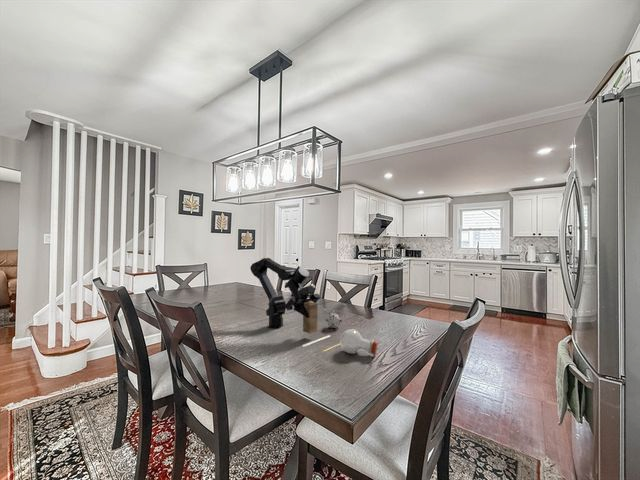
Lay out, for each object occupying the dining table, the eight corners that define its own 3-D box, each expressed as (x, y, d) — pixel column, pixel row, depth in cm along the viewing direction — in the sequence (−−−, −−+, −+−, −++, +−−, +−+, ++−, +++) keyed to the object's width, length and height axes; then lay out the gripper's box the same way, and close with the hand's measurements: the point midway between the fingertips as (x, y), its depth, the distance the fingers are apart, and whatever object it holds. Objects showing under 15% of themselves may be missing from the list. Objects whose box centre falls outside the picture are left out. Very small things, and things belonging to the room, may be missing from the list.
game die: (335, 334, 143) (346, 318, 145) (335, 333, 135) (346, 316, 137) (321, 324, 145) (332, 308, 148) (320, 323, 137) (331, 306, 140)
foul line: (304, 346, 116) (304, 346, 116) (301, 345, 117) (301, 345, 117) (331, 336, 129) (331, 336, 129) (328, 335, 130) (328, 335, 130)
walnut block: (303, 331, 126) (303, 302, 126) (309, 328, 129) (310, 300, 129) (310, 333, 123) (310, 303, 123) (316, 331, 126) (317, 302, 126)
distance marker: (324, 351, 111) (324, 351, 111) (322, 351, 111) (322, 351, 111) (344, 342, 121) (344, 342, 121) (342, 342, 122) (342, 341, 122)
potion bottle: (339, 352, 114) (374, 363, 108) (334, 345, 106) (372, 357, 100) (345, 331, 118) (379, 340, 112) (341, 323, 111) (377, 332, 105)
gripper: (289, 281, 122) (306, 310, 114) (318, 277, 135) (334, 302, 128) (278, 296, 127) (294, 324, 119) (306, 290, 141) (322, 316, 133)
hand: (312, 316), depth 125 cm, fingers closed on walnut block, 5 cm apart
